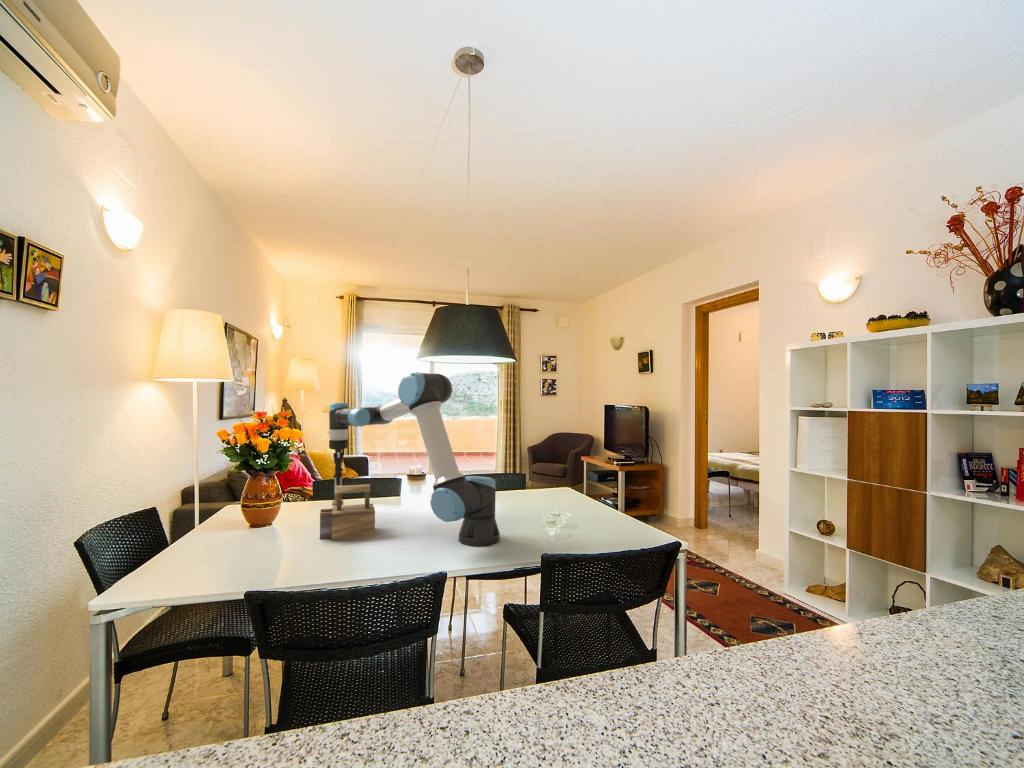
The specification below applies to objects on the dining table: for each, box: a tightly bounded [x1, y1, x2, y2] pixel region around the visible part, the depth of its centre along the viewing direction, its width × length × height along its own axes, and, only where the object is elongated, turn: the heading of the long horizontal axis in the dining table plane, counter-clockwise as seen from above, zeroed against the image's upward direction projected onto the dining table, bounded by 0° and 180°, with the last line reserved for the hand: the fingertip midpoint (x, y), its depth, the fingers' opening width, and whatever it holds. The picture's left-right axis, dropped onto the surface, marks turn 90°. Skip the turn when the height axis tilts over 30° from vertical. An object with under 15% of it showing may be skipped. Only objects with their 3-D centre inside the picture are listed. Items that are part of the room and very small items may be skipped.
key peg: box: [331, 492, 344, 507], centre depth 196 cm, size 4×4×16 cm
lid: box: [319, 483, 376, 519], centre depth 176 cm, size 12×19×10 cm, turn 110°
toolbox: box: [319, 514, 376, 542], centre depth 176 cm, size 12×19×8 cm, turn 110°
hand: (338, 489), depth 196 cm, fingers open, 13 cm apart
